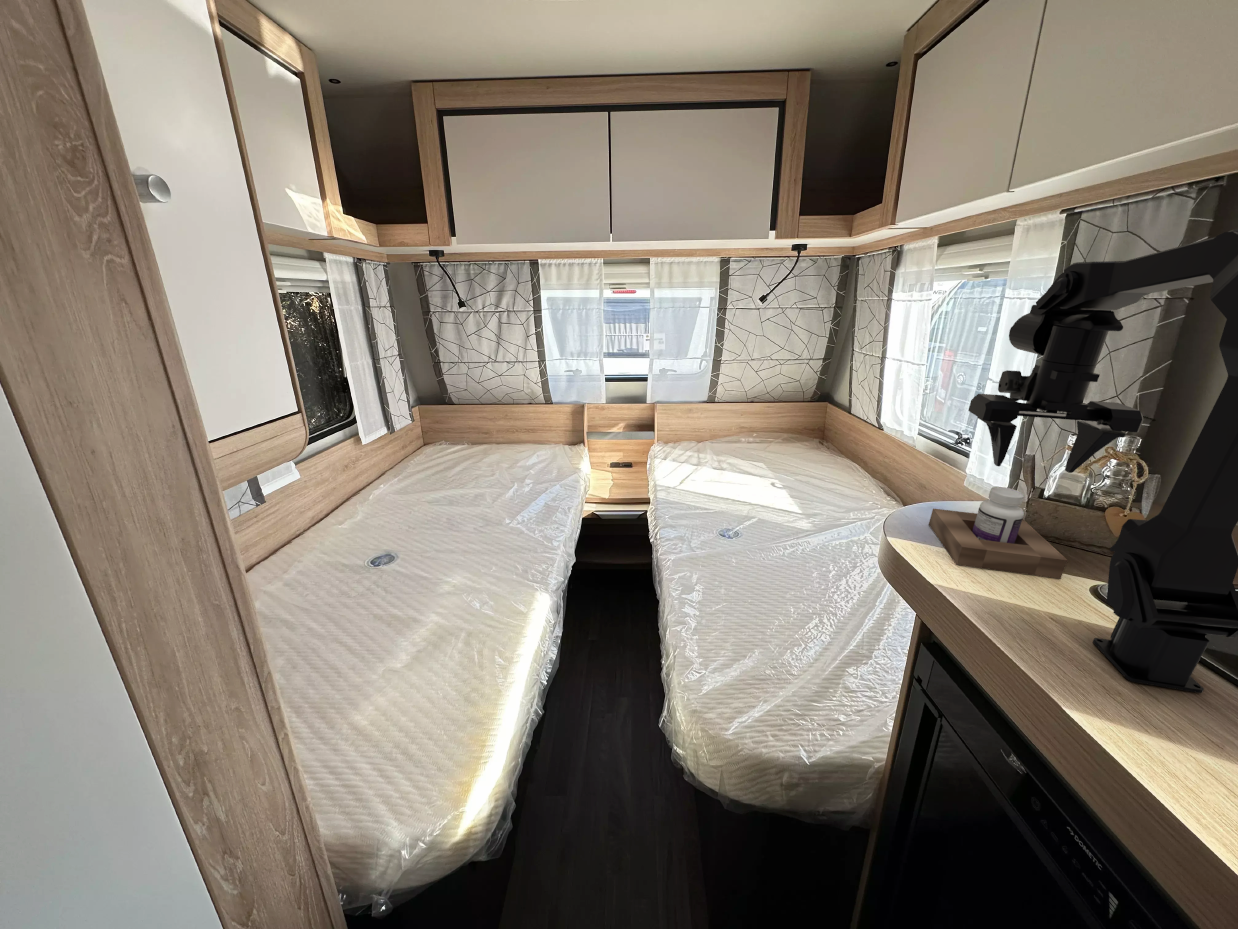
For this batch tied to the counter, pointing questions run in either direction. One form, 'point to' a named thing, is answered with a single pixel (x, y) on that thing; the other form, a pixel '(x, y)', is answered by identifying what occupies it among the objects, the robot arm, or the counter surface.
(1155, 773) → the counter surface
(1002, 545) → the walnut holder
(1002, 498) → the pill bottle
